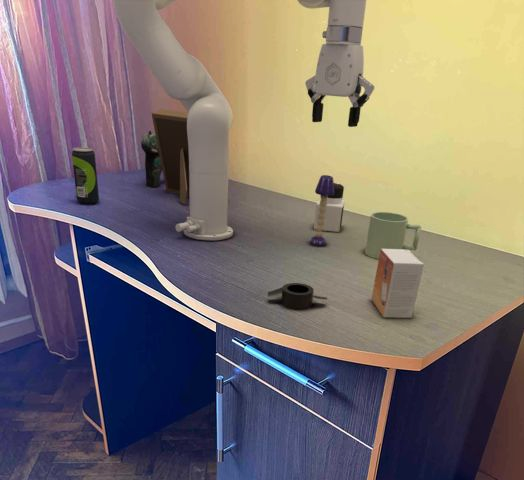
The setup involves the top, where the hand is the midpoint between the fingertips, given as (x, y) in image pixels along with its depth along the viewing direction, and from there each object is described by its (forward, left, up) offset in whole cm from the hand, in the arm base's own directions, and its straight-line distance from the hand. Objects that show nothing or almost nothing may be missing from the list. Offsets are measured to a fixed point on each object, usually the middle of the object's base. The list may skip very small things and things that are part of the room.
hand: (334, 124), depth 119 cm
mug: (+4, -17, -28) cm, 33 cm away
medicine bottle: (+13, +6, -28) cm, 31 cm away
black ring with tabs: (-36, -19, -28) cm, 50 cm away
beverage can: (-22, +68, -28) cm, 77 cm away
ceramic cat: (+15, +76, -28) cm, 82 cm away
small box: (-25, -33, -28) cm, 50 cm away
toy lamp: (-2, -1, -28) cm, 28 cm away
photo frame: (+5, +55, -28) cm, 62 cm away
